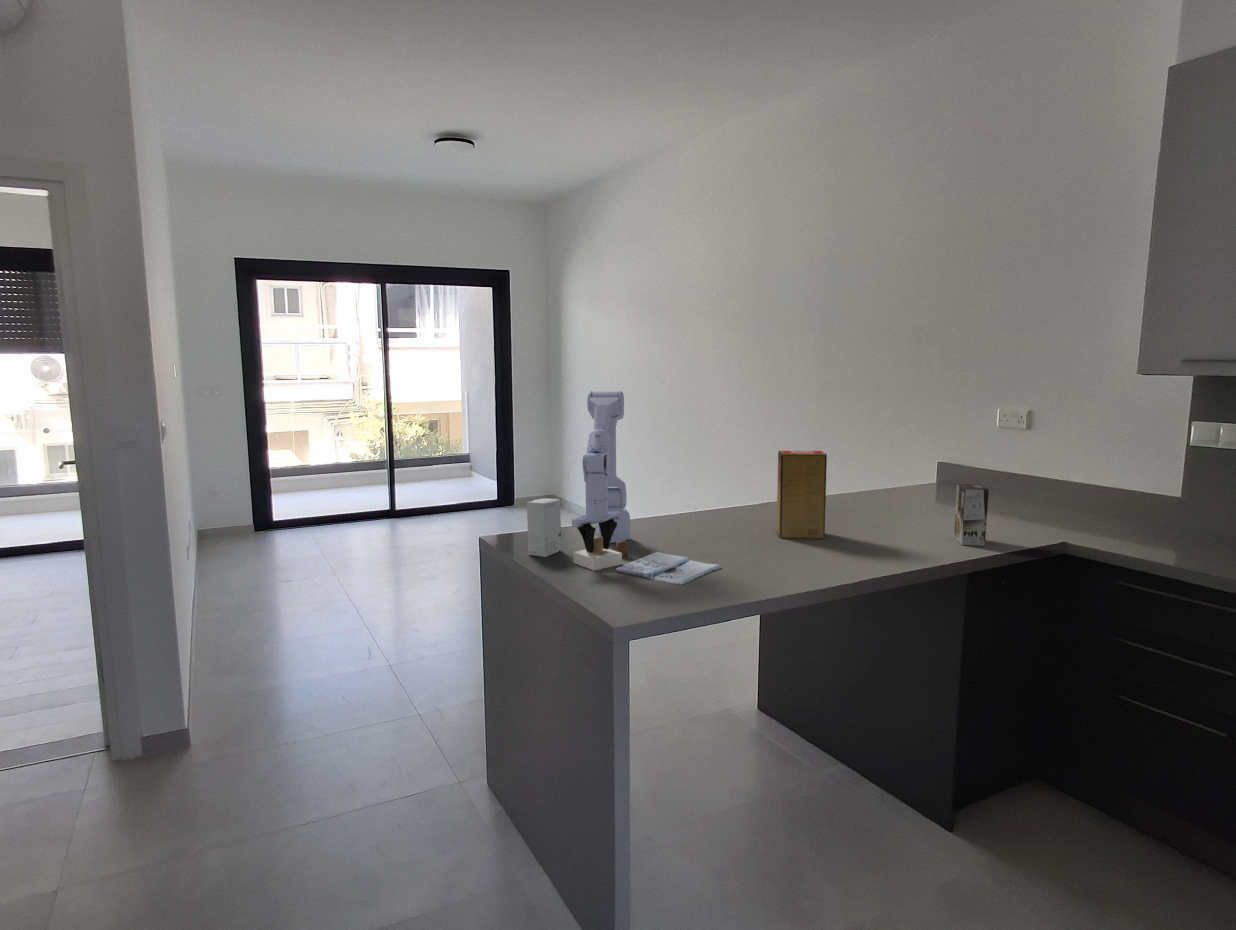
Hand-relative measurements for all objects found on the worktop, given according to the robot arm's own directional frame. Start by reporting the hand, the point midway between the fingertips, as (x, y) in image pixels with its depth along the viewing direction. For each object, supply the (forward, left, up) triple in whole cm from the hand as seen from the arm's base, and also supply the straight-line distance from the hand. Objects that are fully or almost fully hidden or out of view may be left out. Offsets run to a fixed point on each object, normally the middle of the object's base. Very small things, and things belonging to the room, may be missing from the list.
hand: (597, 550), depth 192 cm
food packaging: (-64, +14, -4) cm, 66 cm away
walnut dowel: (-10, -2, -4) cm, 10 cm away
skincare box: (+5, -18, -4) cm, 19 cm away
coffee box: (-94, +50, -4) cm, 107 cm away
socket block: (0, 0, -4) cm, 4 cm away
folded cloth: (-10, +16, -4) cm, 20 cm away
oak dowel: (0, 0, -4) cm, 4 cm away
